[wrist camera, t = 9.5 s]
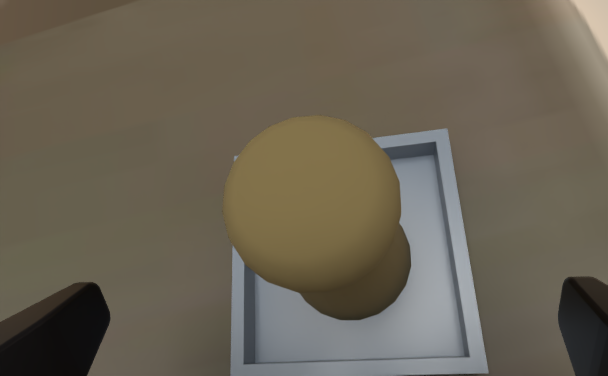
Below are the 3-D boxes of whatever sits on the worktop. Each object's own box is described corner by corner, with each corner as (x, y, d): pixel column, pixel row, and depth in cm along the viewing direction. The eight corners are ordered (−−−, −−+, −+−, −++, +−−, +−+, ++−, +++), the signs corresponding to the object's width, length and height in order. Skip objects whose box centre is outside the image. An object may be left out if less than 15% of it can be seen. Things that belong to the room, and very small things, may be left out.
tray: (479, 369, 19) (488, 373, 17) (247, 375, 21) (230, 379, 19) (443, 147, 23) (447, 128, 21) (248, 171, 25) (234, 156, 23)
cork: (282, 211, 23) (185, 109, 13) (396, 188, 22) (390, 58, 12) (297, 330, 21) (194, 322, 10) (424, 310, 20) (447, 280, 10)
